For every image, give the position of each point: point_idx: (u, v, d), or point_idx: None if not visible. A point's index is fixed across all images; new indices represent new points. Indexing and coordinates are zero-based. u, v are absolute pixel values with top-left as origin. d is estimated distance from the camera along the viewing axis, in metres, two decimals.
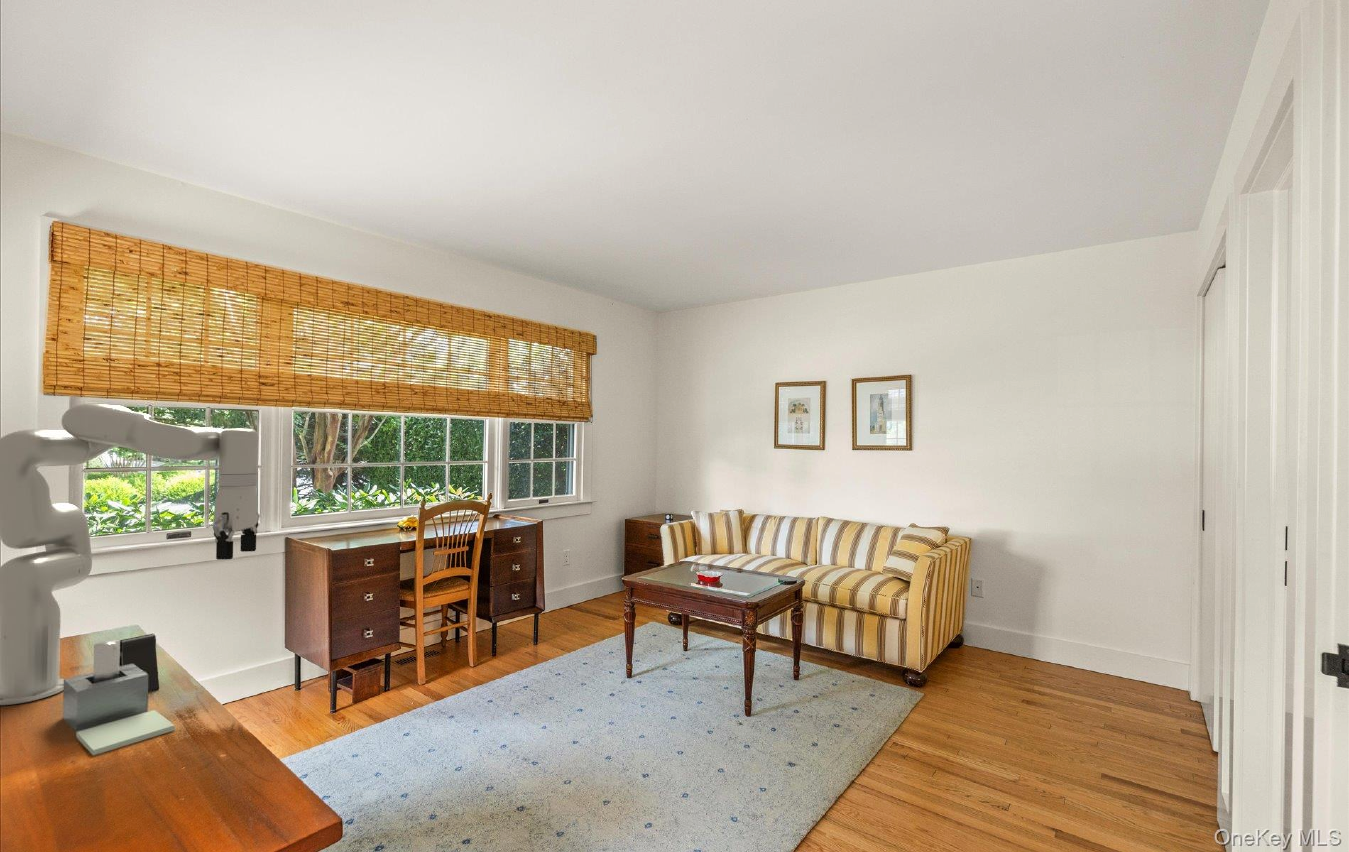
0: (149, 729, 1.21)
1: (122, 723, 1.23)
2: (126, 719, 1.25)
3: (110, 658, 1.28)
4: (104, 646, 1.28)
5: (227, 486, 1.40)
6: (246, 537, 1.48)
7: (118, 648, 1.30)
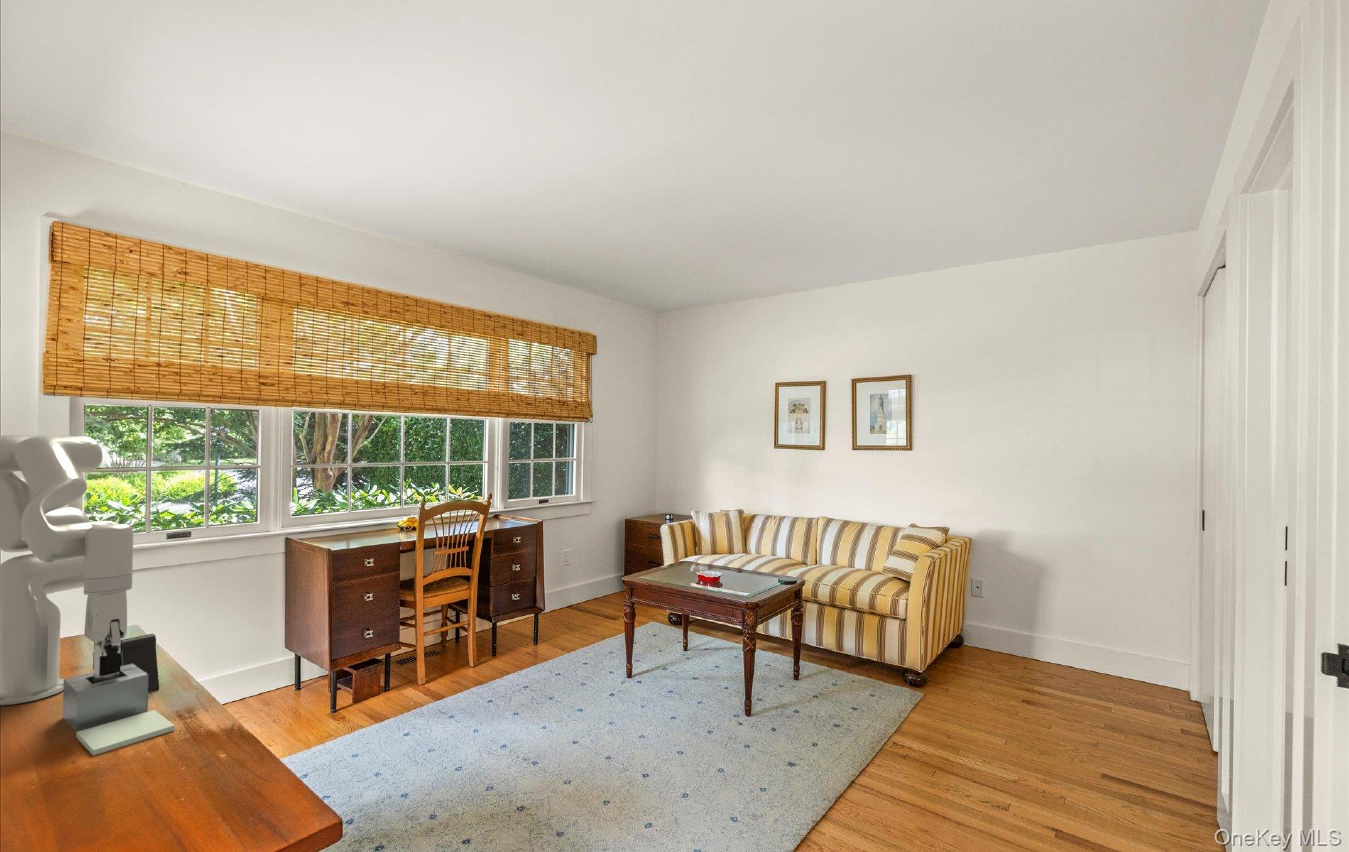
0: (149, 729, 1.21)
1: (122, 723, 1.23)
2: (126, 719, 1.25)
3: None
4: None
5: (111, 590, 1.27)
6: None
7: None
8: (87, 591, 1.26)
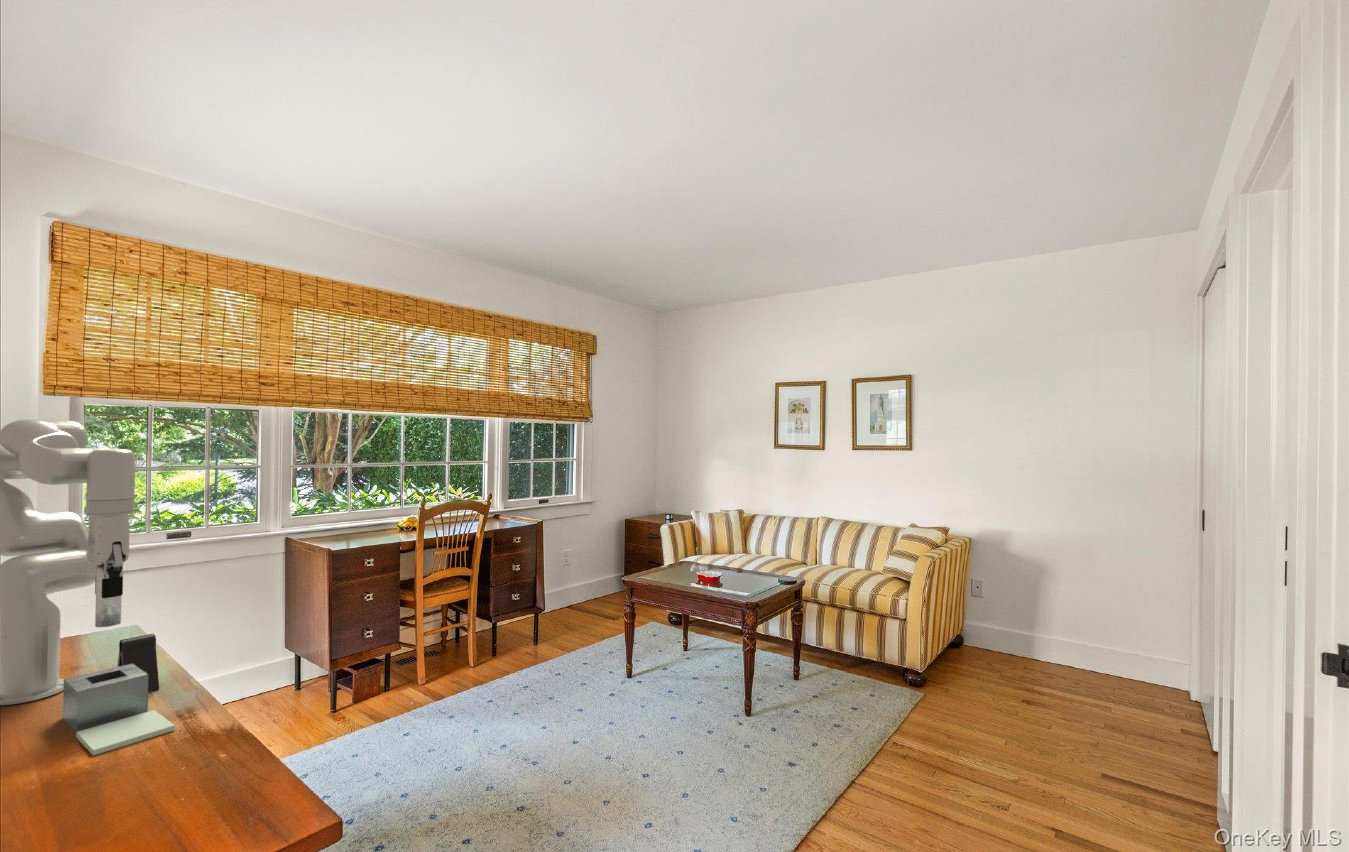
0: (149, 729, 1.21)
1: (122, 723, 1.23)
2: (126, 719, 1.25)
3: None
4: None
5: (113, 513, 1.27)
6: None
7: None
8: (89, 513, 1.26)
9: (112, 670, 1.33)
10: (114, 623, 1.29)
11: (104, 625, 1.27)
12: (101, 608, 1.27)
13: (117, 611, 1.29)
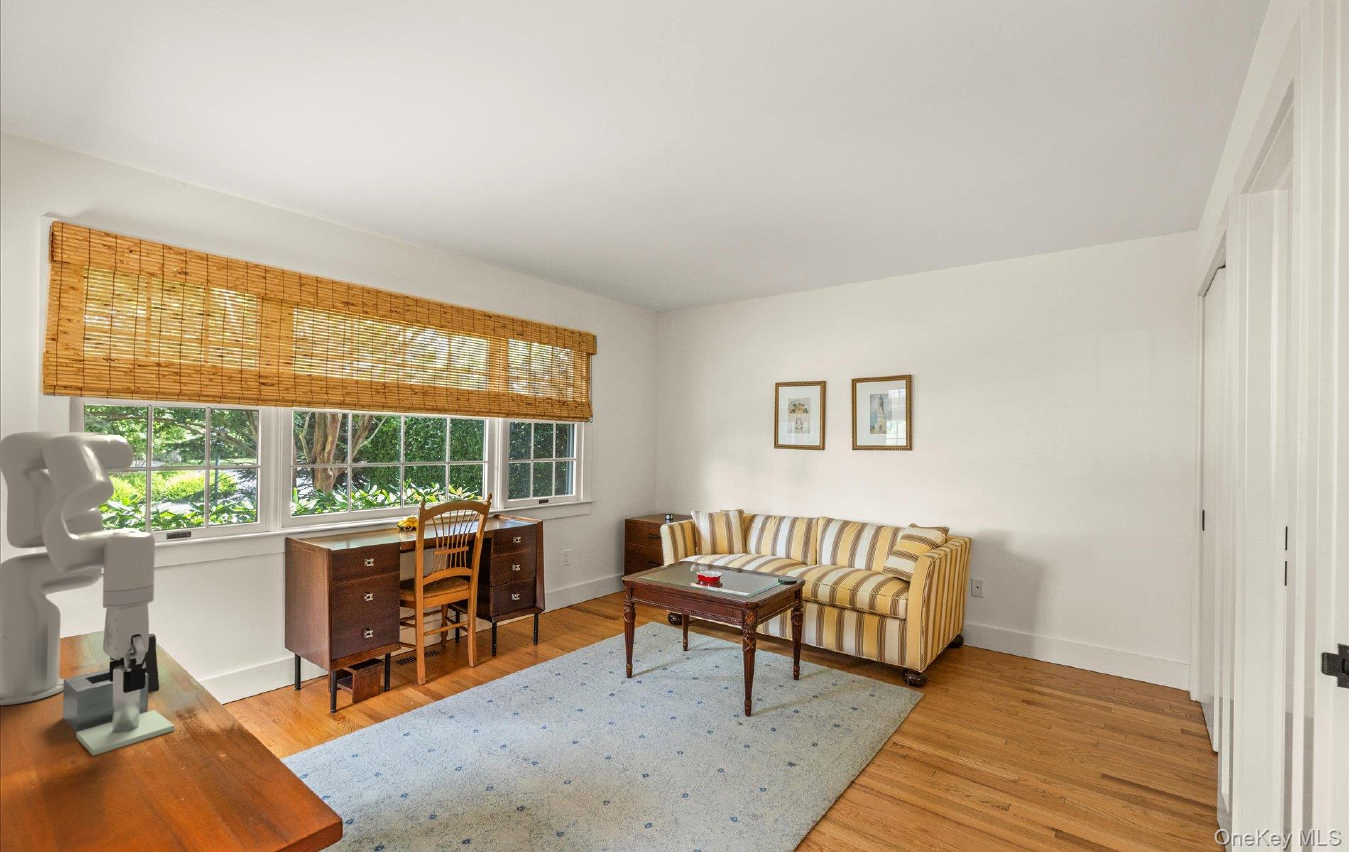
0: (149, 729, 1.21)
1: None
2: None
3: None
4: (124, 670, 1.20)
5: (132, 603, 1.19)
6: (119, 663, 1.23)
7: None
8: (107, 604, 1.18)
9: None
10: (132, 727, 1.20)
11: (122, 731, 1.19)
12: (118, 712, 1.19)
13: (135, 714, 1.21)
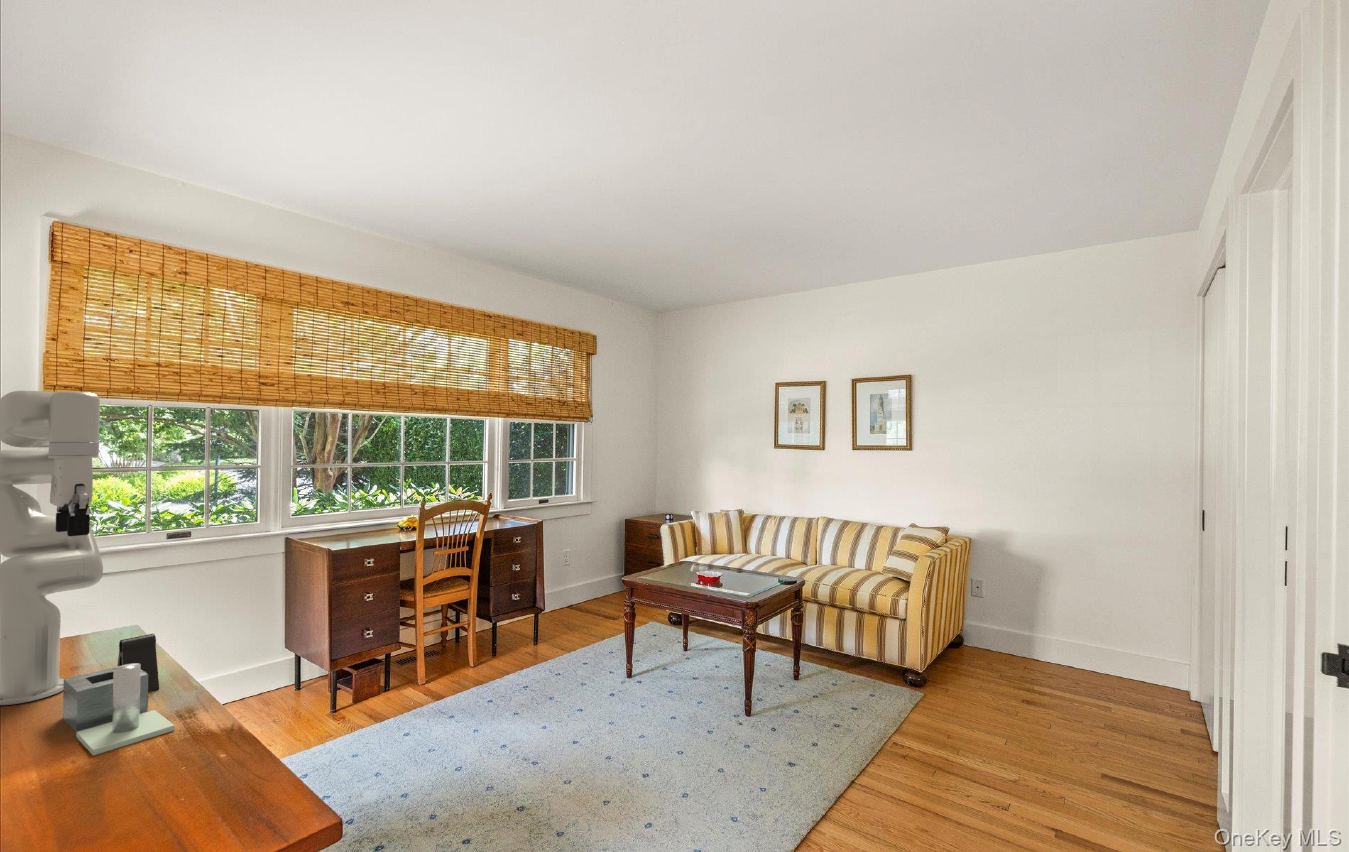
0: (149, 729, 1.21)
1: None
2: None
3: (131, 683, 1.20)
4: (124, 670, 1.20)
5: (76, 455, 1.26)
6: (65, 515, 1.30)
7: (139, 672, 1.22)
8: (51, 455, 1.25)
9: (112, 670, 1.33)
10: (132, 727, 1.20)
11: (122, 731, 1.19)
12: (118, 712, 1.19)
13: (135, 714, 1.21)
